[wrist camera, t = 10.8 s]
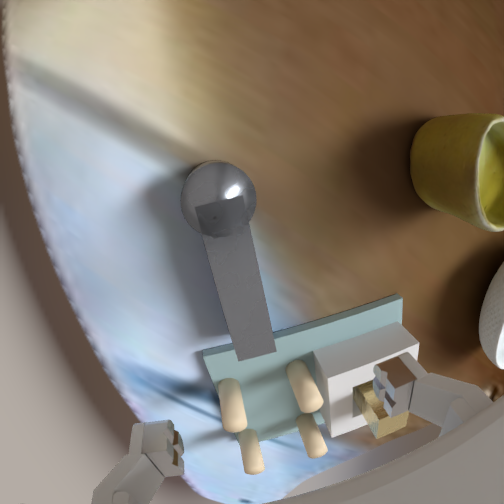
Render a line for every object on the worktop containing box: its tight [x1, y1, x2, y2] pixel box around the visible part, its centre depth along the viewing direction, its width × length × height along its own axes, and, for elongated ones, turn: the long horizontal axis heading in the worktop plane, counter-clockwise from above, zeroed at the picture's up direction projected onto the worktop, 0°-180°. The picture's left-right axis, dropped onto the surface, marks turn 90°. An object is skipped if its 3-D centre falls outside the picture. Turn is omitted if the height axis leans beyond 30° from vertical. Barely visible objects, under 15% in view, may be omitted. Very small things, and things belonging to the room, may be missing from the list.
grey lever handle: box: [181, 160, 277, 362], centre depth 23 cm, size 14×5×4 cm, turn 12°
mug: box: [410, 113, 504, 232], centre depth 22 cm, size 12×10×10 cm
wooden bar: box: [353, 380, 409, 439], centre depth 26 cm, size 3×3×8 cm
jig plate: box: [203, 294, 419, 475], centre depth 27 cm, size 14×19×6 cm
